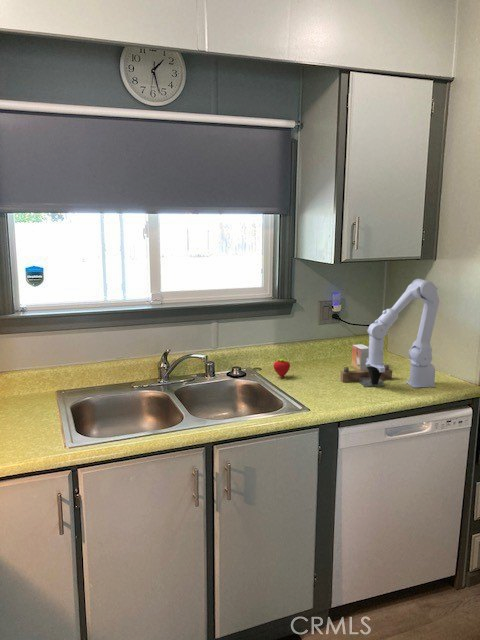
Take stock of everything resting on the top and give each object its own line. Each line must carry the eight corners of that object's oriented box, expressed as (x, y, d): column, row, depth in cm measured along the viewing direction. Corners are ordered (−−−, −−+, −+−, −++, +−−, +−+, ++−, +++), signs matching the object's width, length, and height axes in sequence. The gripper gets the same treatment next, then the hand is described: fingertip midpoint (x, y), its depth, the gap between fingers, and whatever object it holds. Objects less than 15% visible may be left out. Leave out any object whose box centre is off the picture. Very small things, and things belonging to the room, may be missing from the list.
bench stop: (388, 377, 233) (389, 364, 232) (391, 379, 230) (392, 366, 229) (340, 380, 230) (340, 366, 229) (342, 382, 227) (343, 368, 226)
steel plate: (376, 382, 228) (376, 376, 228) (382, 386, 222) (382, 380, 222) (358, 383, 227) (359, 377, 227) (364, 387, 221) (364, 382, 221)
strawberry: (271, 376, 237) (271, 354, 235) (287, 374, 239) (287, 353, 237) (275, 380, 231) (275, 357, 229) (292, 378, 233) (292, 356, 231)
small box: (351, 366, 250) (351, 344, 248) (361, 365, 252) (362, 343, 249) (359, 371, 242) (360, 348, 240) (370, 370, 244) (371, 347, 242)
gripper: (360, 348, 224) (359, 379, 227) (373, 357, 210) (372, 390, 213) (376, 347, 225) (374, 378, 228) (390, 356, 211) (388, 389, 214)
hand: (374, 384), depth 221 cm, fingers closed
